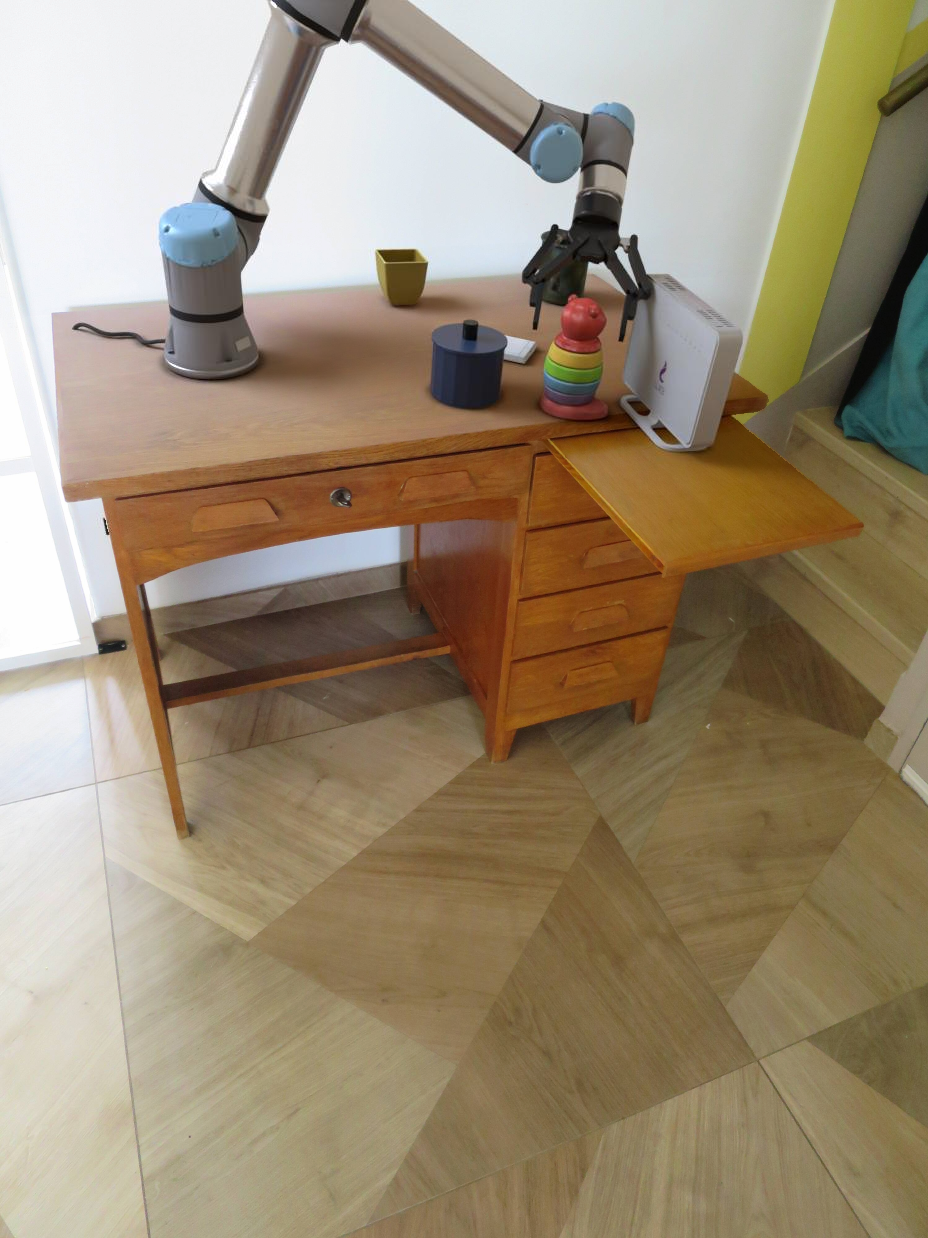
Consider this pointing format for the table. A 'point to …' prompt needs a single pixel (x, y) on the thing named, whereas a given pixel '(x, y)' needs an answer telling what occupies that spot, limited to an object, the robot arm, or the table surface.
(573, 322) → the stacking bear
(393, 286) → the flower pot
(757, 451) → the table surface
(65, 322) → the table surface
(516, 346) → the hard drive
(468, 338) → the pot lid
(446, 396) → the pot
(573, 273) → the mug
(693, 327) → the network device
